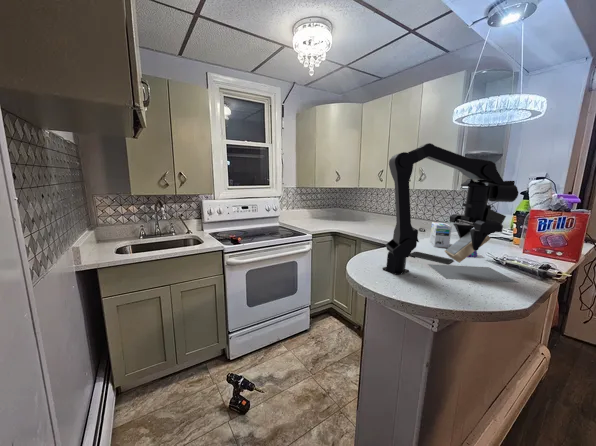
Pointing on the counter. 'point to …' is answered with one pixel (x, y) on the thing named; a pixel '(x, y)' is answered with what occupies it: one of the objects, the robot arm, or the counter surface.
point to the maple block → (463, 248)
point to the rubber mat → (470, 273)
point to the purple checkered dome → (475, 255)
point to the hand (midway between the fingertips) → (469, 247)
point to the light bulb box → (440, 234)
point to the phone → (431, 257)
